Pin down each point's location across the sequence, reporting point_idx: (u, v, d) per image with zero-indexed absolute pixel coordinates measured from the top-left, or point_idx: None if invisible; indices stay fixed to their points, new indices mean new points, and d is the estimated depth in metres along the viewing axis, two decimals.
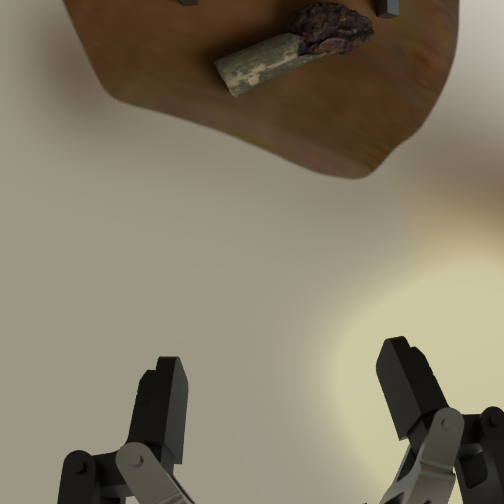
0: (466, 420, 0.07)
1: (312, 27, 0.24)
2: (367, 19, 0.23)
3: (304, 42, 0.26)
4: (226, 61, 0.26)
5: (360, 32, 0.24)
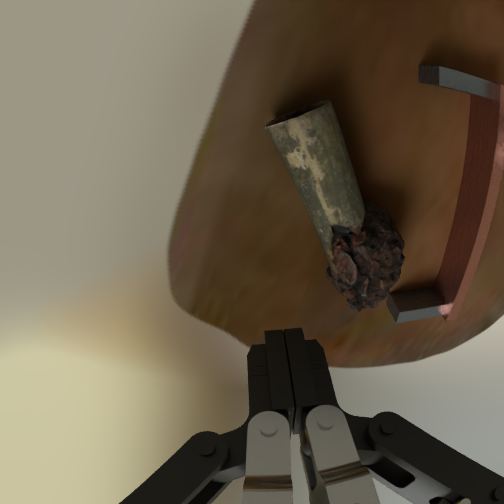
0: (357, 422, 0.08)
1: (372, 246, 0.21)
2: (376, 305, 0.25)
3: (349, 232, 0.22)
4: (332, 121, 0.18)
5: (359, 297, 0.25)
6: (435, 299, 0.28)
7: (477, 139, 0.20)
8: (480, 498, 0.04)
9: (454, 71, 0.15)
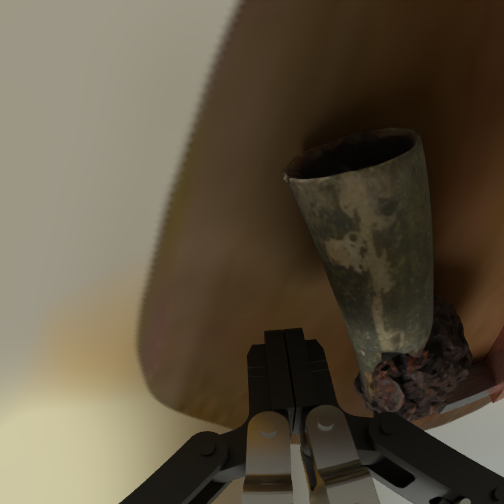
0: (357, 422, 0.08)
1: (433, 370, 0.12)
2: None
3: None
4: (424, 180, 0.08)
5: None
6: (485, 379, 0.19)
7: None
8: (480, 498, 0.04)
9: None
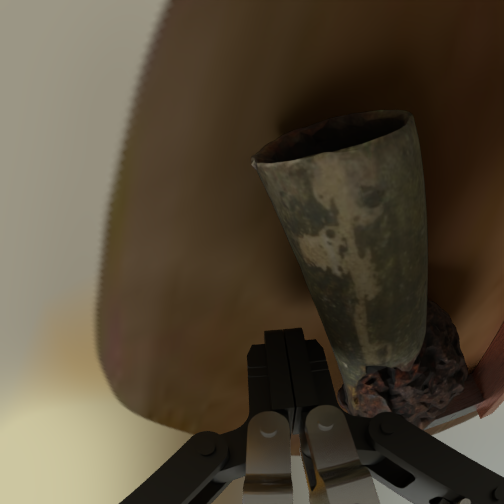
0: (356, 422, 0.08)
1: (424, 385, 0.11)
2: None
3: None
4: (417, 167, 0.07)
5: None
6: (472, 394, 0.18)
7: None
8: (480, 498, 0.04)
9: None
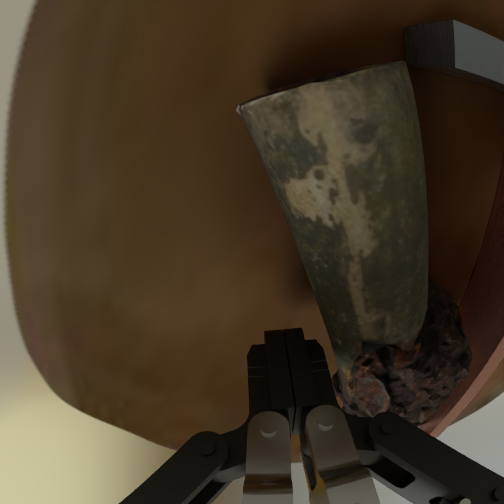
0: (356, 422, 0.08)
1: (426, 367, 0.10)
2: None
3: None
4: (412, 109, 0.06)
5: None
6: None
7: None
8: (480, 498, 0.04)
9: (488, 37, 0.05)
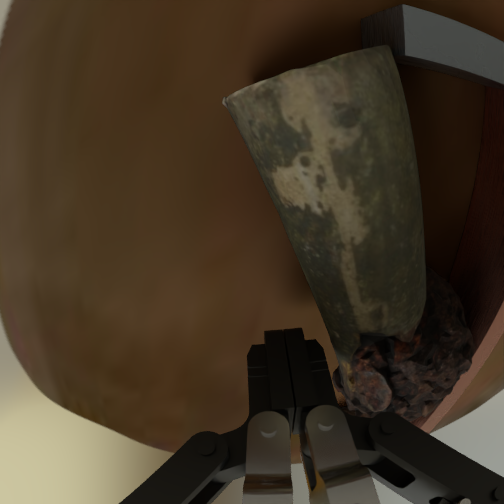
0: (357, 422, 0.08)
1: (428, 359, 0.10)
2: None
3: None
4: (397, 92, 0.06)
5: None
6: None
7: (496, 183, 0.09)
8: (480, 498, 0.04)
9: (447, 21, 0.05)
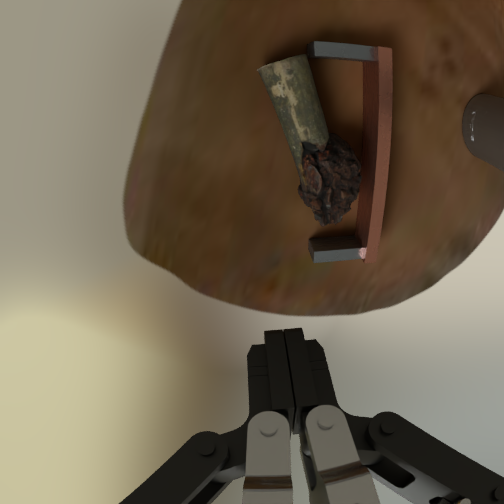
0: (356, 422, 0.08)
1: (334, 161, 0.27)
2: (339, 220, 0.31)
3: (316, 150, 0.28)
4: (305, 66, 0.23)
5: (325, 210, 0.31)
6: (353, 243, 0.35)
7: (368, 97, 0.27)
8: (480, 498, 0.04)
9: (329, 43, 0.23)
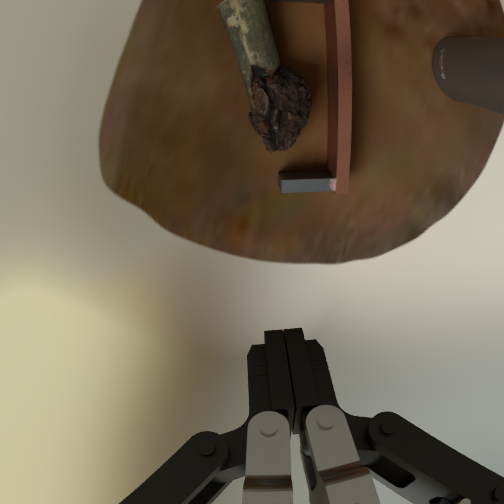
0: (357, 422, 0.08)
1: (282, 85, 0.26)
2: (288, 145, 0.30)
3: (266, 75, 0.27)
4: (259, 2, 0.22)
5: (273, 135, 0.30)
6: (323, 175, 0.34)
7: (329, 31, 0.26)
8: (480, 498, 0.04)
9: None
